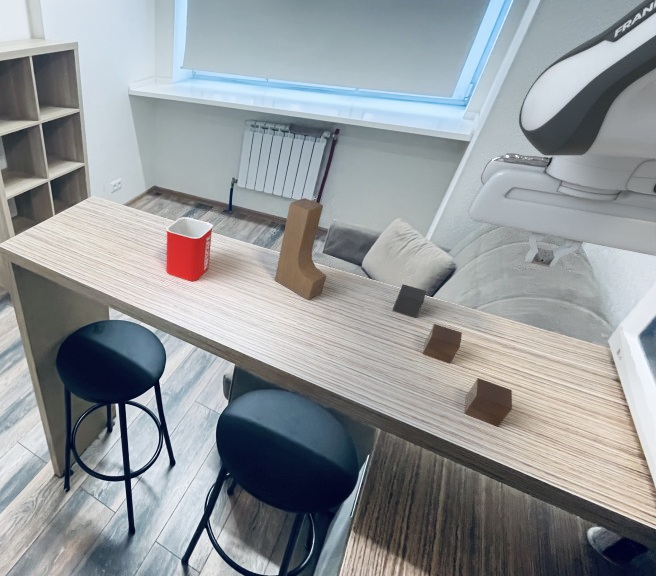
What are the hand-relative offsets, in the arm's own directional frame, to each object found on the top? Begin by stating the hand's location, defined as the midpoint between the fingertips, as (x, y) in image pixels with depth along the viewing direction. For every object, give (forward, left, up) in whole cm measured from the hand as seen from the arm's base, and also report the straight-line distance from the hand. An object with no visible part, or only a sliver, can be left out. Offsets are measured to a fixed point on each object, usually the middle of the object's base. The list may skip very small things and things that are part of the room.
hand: (538, 263), depth 56 cm
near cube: (-7, +9, -19) cm, 22 cm away
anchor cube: (+15, -1, -19) cm, 24 cm away
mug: (+45, +30, -19) cm, 57 cm away
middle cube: (+4, +4, -19) cm, 20 cm away
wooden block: (+29, +13, -19) cm, 37 cm away
